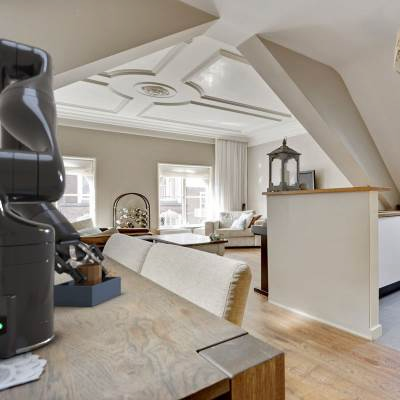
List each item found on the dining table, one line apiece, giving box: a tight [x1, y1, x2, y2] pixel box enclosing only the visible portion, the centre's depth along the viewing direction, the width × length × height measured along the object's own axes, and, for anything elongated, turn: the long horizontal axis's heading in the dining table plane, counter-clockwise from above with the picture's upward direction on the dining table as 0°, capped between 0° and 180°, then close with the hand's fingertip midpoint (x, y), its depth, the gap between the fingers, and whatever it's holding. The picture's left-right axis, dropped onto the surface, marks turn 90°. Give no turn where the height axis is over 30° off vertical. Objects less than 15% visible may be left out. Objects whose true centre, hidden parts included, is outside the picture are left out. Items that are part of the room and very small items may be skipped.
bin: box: [54, 276, 122, 307], centre depth 78 cm, size 10×10×5 cm
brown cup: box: [75, 262, 103, 286], centre depth 79 cm, size 6×6×8 cm
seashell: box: [102, 265, 118, 277], centre depth 100 cm, size 8×6×8 cm
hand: (94, 279), depth 78 cm, fingers closed on brown cup, 5 cm apart
